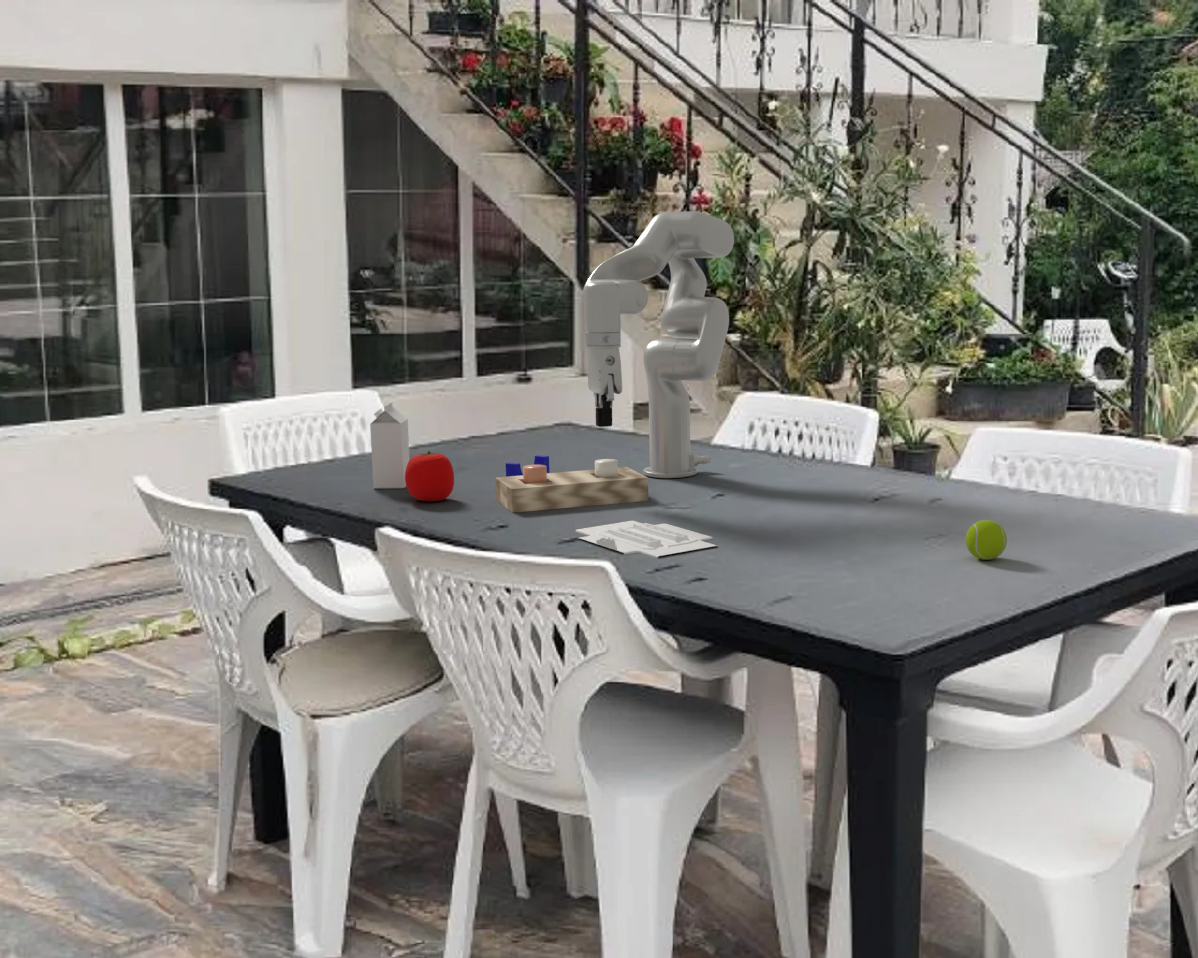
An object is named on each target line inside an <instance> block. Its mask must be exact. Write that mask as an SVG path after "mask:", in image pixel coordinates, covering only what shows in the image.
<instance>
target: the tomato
mask: <svg viewBox="0 0 1198 958" xmlns="http://www.w3.org/2000/svg"><path fill="white" fill-rule="evenodd" d="M454 473H455V472H454V467H453V465H452V462H451V460H450V459H449V457H447V455H445V454H443V453H438V452H432V451H430V450H427V452H423V453H418V454H415V455H413V456H412V457H410V460H409V462H408V464H407V467H406V470H405V483H406V488H407V491H408V493H409V494H410V496H411V497H413V498H414V499H416V500H419V501H423V502H438V501H443V500H446V499H447V498H448V497H449V496H450V495H451V494H452V492H453V490H454V486H455V474H454Z"/></svg>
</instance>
